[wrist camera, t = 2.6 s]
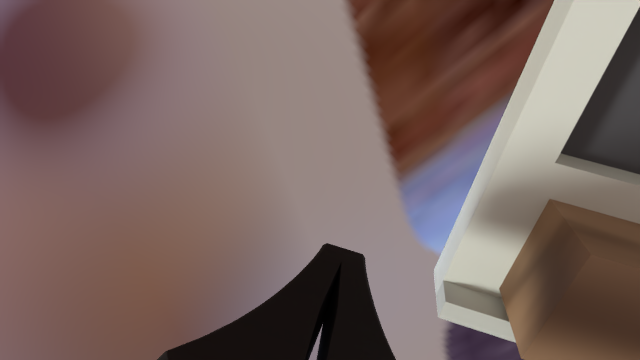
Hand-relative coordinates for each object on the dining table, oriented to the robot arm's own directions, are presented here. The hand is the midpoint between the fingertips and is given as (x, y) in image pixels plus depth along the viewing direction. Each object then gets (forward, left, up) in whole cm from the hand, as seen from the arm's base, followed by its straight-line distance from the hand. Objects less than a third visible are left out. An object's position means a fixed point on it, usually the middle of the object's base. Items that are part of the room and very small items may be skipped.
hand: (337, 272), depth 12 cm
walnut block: (0, -10, -6) cm, 12 cm away
